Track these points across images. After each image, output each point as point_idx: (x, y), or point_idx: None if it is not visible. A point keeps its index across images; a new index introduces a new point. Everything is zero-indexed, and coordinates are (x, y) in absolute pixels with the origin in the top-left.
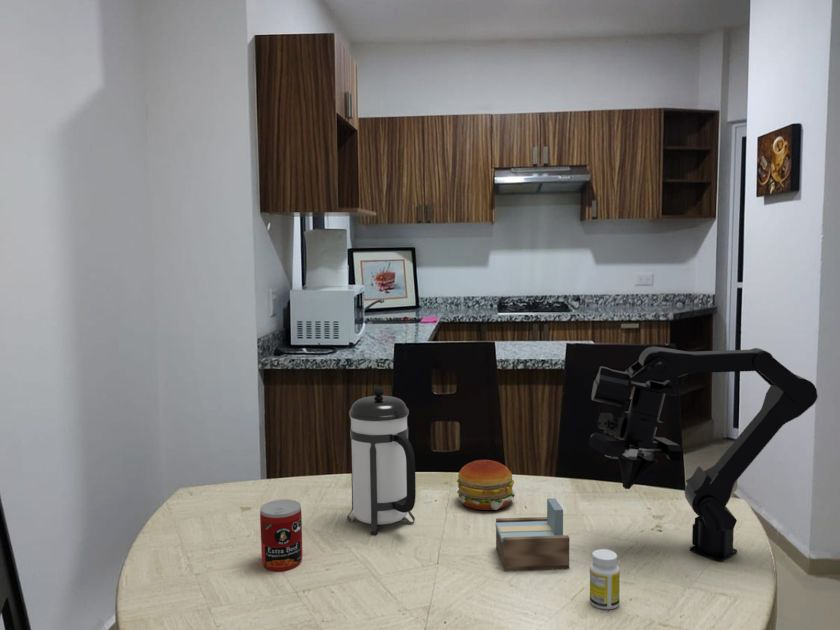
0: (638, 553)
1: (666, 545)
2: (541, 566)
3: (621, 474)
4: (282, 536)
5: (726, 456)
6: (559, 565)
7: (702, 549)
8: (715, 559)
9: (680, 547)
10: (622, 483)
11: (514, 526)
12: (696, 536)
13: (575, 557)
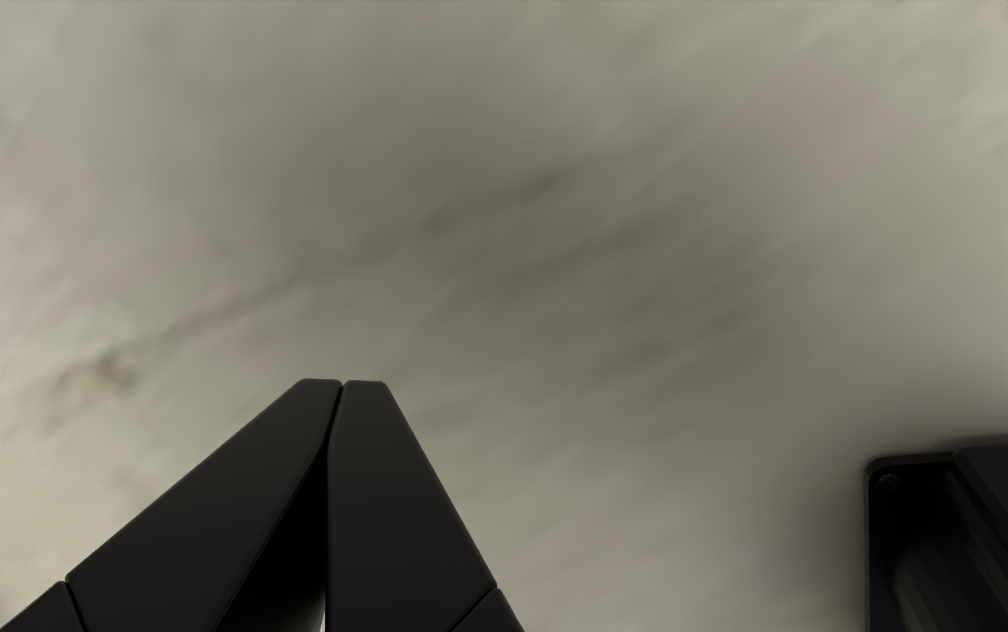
0: (509, 292)
1: (817, 308)
2: None
3: (150, 509)
4: None
5: None
6: None
7: (894, 562)
8: (867, 630)
9: (874, 385)
10: (268, 408)
11: None
12: (967, 538)
13: (34, 94)
